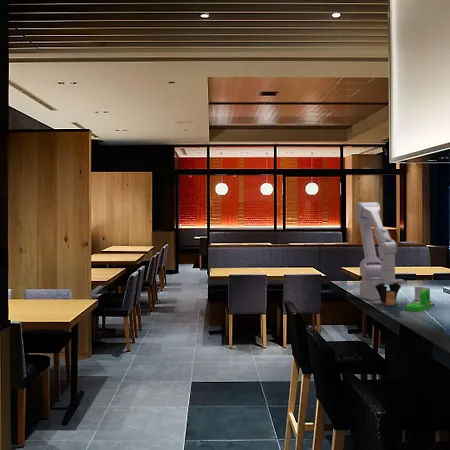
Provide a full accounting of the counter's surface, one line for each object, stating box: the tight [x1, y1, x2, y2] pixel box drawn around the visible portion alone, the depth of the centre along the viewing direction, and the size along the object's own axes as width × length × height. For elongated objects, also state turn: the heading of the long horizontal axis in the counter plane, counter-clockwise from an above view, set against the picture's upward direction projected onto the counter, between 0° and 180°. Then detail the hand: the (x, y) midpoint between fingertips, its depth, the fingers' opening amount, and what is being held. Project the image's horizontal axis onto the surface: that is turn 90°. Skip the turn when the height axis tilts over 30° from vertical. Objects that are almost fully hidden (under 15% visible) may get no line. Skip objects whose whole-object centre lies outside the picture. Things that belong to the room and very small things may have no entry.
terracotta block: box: [380, 289, 396, 307], centre depth 216 cm, size 4×4×6 cm
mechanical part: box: [405, 289, 431, 313], centre depth 205 cm, size 12×6×8 cm, turn 138°
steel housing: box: [413, 286, 432, 303], centre depth 223 cm, size 7×4×6 cm, turn 19°
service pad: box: [411, 301, 436, 307], centre depth 215 cm, size 8×6×1 cm
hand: (388, 301), depth 216 cm, fingers open, 4 cm apart
